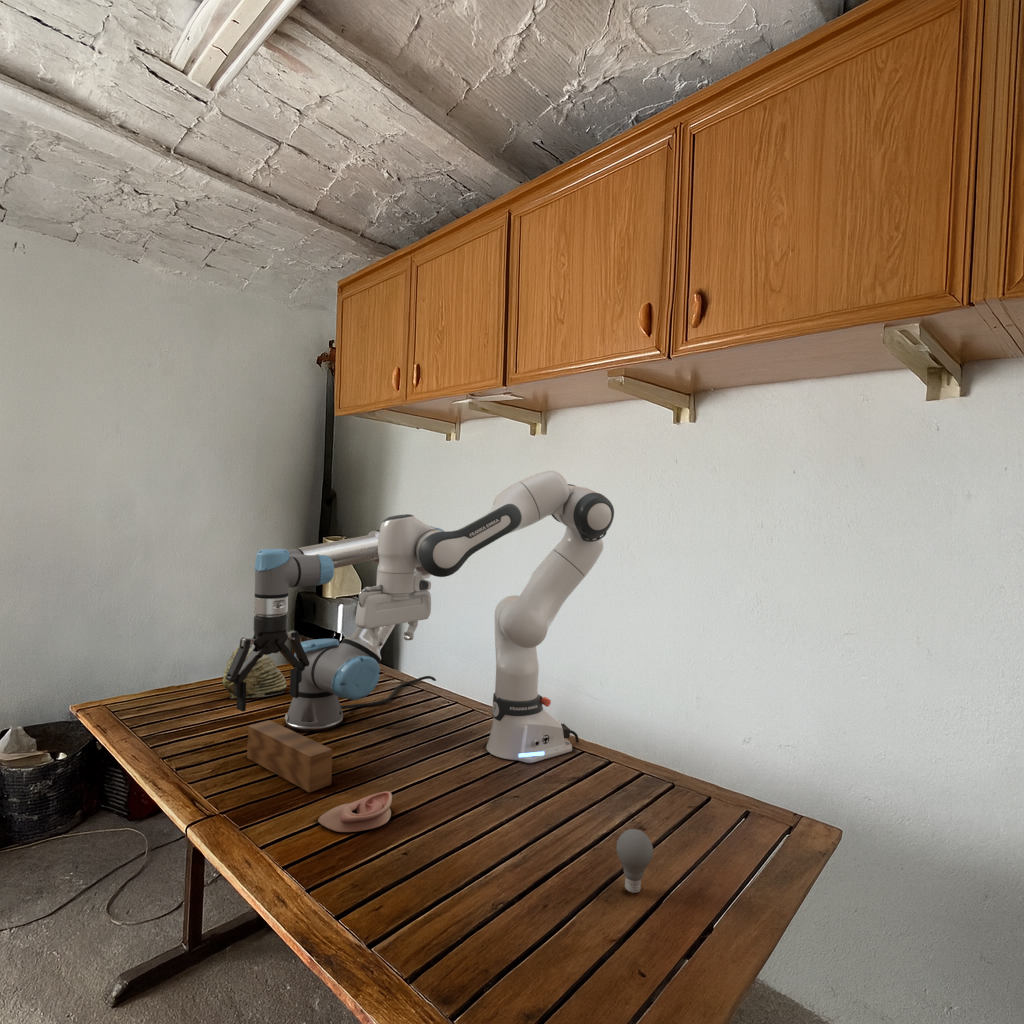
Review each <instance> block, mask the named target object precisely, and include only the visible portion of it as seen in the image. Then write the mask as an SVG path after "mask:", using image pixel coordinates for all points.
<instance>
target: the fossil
mask: <svg viewBox="0 0 1024 1024" xmlns="http://www.w3.org/2000/svg"><path fill="white" fill-rule="evenodd" d="M238 649H239V646H238V647H237V648H236V649H235V650H233V651H232V653H231V656H230V657H229V659H228V660H227V663H226V666H225V668H224V671H223V675H222V676H223V677H222V685H223V687H224V688H225V690H226V691H228V693H229V698H230V699H237V697H236V696H234V682H230V681H228V680H226V679H225V677H226V675H227V672H228V670H229V668H230V666H231V664H232V662H233V660H234V658H235V655H236V653H237V651H238ZM252 649H253V648H250V649H249V652H248V654H247V656H246V659H247V658H248V657H249V655H250V652H251V651H252ZM258 652H259V651H258ZM246 659H245V661H246ZM245 661H244V662H245ZM244 682H246V699H250V698H264V697H271V696H275V695H281V694H284V693H285V691H286V689H287V687H288V686H287V680H286V678H285V676H284V674H283V673H282V672H281V669H279V668H278V667H277V665H276V663H275V662H274V660H273V659H272V658H271V657H270V656H269V655H265V654H264V655H263V656H262V657H261V658H260V659H259V660H258V661H257V663H256V664H255V665H254V667H253V668H252V670H251V671H250V672H249V674H248V675H247V677H246V678H245V679H244Z"/></svg>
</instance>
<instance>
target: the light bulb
mask: <svg viewBox="0 0 1024 1024" xmlns="http://www.w3.org/2000/svg"><path fill="white" fill-rule="evenodd" d="M615 849H616V854H617V857H618V859H619V861H620V863H621V865H622V867H623V873H624V874H623V875H624V876H625V878H624V888H625V890H627V891H628V892H630V893H634V894H635V893H639V892H640V891H641V889H642V887H641V886H642V879H643V877H644V875H645V871H646V868H647V867H648V866H649V864H650V863H651V861H652V859H653V855H654V847H653V843H652V841H651V838H649V836H648V835H647V834H646V833H645V832H643V831H642V830H641V829H636V828H629V829H627V830H625V831H623V832H622V833H621V834H620V835H619V837H618V839H617V841H616V847H615Z"/></svg>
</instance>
